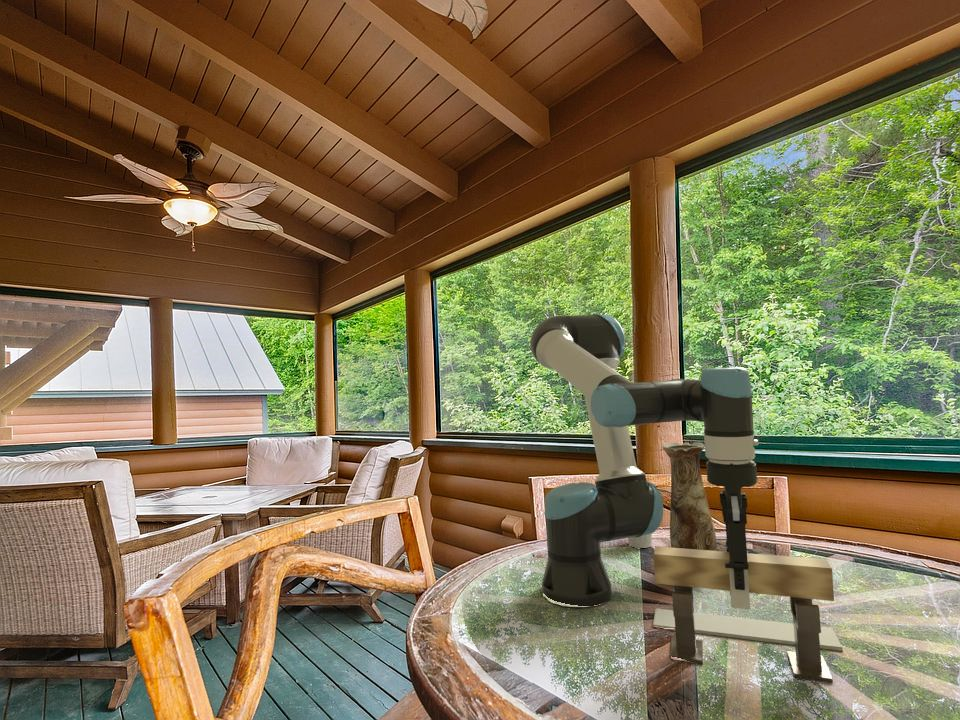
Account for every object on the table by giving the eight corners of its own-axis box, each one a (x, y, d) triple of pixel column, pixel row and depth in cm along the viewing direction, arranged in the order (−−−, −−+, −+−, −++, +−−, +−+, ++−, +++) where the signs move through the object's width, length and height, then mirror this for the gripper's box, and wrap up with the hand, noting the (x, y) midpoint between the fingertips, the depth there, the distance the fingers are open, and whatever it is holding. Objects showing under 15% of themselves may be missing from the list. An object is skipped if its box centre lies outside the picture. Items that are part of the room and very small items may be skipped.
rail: (655, 583, 90) (653, 554, 90) (657, 574, 94) (655, 546, 94) (834, 601, 80) (831, 568, 80) (828, 590, 84) (825, 559, 84)
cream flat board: (653, 627, 98) (653, 624, 98) (656, 611, 105) (655, 608, 105) (842, 650, 87) (842, 647, 87) (832, 631, 93) (832, 627, 93)
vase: (721, 580, 118) (711, 447, 119) (671, 577, 121) (662, 447, 122) (716, 563, 128) (707, 441, 129) (670, 561, 131) (661, 441, 132)
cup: (640, 552, 139) (637, 506, 140) (619, 544, 147) (616, 501, 147) (661, 546, 143) (658, 501, 144) (640, 538, 150) (637, 496, 151)
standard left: (670, 659, 87) (665, 592, 88) (672, 639, 94) (667, 577, 94) (702, 664, 85) (697, 595, 86) (702, 643, 92) (697, 580, 92)
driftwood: (782, 560, 129) (781, 552, 129) (768, 568, 125) (768, 559, 125) (704, 543, 146) (704, 535, 146) (690, 549, 142) (690, 541, 142)
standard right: (794, 677, 80) (788, 604, 81) (787, 654, 87) (782, 587, 87) (832, 682, 78) (826, 608, 79) (822, 659, 85) (817, 590, 85)
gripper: (761, 470, 78) (772, 629, 77) (750, 451, 94) (759, 583, 93) (706, 469, 81) (716, 622, 80) (705, 451, 97) (713, 579, 96)
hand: (739, 601), depth 87 cm, fingers closed on rail, 4 cm apart
